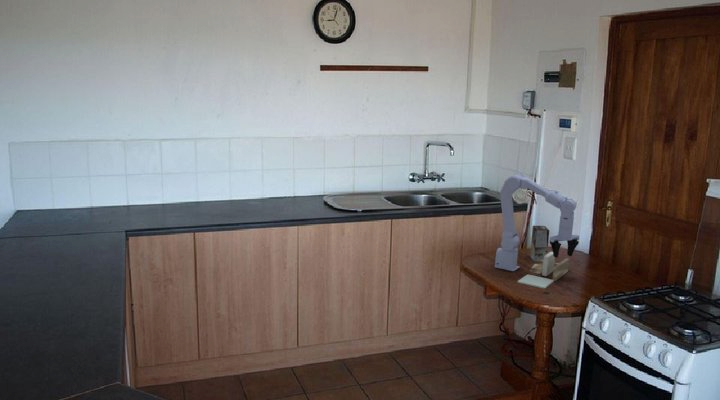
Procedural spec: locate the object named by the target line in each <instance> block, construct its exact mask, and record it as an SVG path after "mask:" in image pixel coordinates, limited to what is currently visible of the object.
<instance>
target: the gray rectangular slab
mask: <svg viewBox="0 0 720 400" xmlns="http://www.w3.org/2000/svg"><path fill="white" fill-rule="evenodd" d="M555 260H556V257H554V256H553V251H549V252H547V255H545V256H544V261H543V271H542V272H541V275H542V276H544V277H548V276H549V275H550V274H551V273H553V269H554V262H555V263H556V261H555Z"/></svg>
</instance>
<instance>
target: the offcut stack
mask: <svg viewBox="0 0 720 400" xmlns="http://www.w3.org/2000/svg"><path fill="white" fill-rule="evenodd" d="M542 271H543V265H540V264H537V263H534V264H533V266H532V267H530V270H529V273H534V274H538V275H540V274H542Z"/></svg>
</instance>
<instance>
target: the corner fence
mask: <svg viewBox="0 0 720 400" xmlns="http://www.w3.org/2000/svg"><path fill="white" fill-rule="evenodd" d="M543 261H544V260H540V259H539V260H538V262H536V264H540V265H543ZM569 271H570V258H568V257H567V258H564V259H563V260H562V261H560V262H556V261H555V262H554V269H553V272H552V278H551V280H554V282H556V281H557V280H559V279H561V278H562V277H563V276H565V274H567V273H568V272H569Z"/></svg>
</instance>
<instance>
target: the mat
mask: <svg viewBox="0 0 720 400" xmlns="http://www.w3.org/2000/svg"><path fill="white" fill-rule="evenodd" d="M554 282H555V281H554V280H552V278H551V279H550V278H546V277H541V276H536V275H533V274H526V275H524V276H523V277H521V278H520V279H518V280H517V283H518V284H521V285H527V286H531V287H536V288H538V289H539V288H540V289H546V288H547V287H549V286H550V285H551V284H553V283H554Z"/></svg>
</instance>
